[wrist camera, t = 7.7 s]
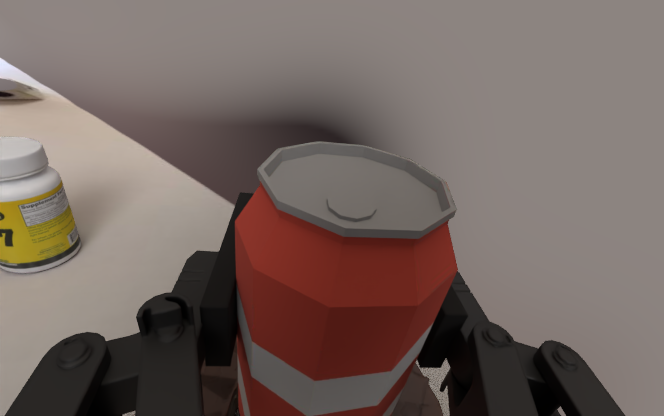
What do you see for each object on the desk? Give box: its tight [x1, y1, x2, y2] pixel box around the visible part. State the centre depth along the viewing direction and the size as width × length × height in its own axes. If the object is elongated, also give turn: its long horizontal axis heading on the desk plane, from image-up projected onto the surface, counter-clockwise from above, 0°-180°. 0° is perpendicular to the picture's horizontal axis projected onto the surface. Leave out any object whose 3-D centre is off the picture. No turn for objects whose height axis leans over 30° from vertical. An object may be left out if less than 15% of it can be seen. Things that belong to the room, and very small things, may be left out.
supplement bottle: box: [0, 137, 81, 273], centre depth 21 cm, size 5×5×8 cm
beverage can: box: [235, 141, 458, 416], centre depth 11 cm, size 6×6×12 cm
